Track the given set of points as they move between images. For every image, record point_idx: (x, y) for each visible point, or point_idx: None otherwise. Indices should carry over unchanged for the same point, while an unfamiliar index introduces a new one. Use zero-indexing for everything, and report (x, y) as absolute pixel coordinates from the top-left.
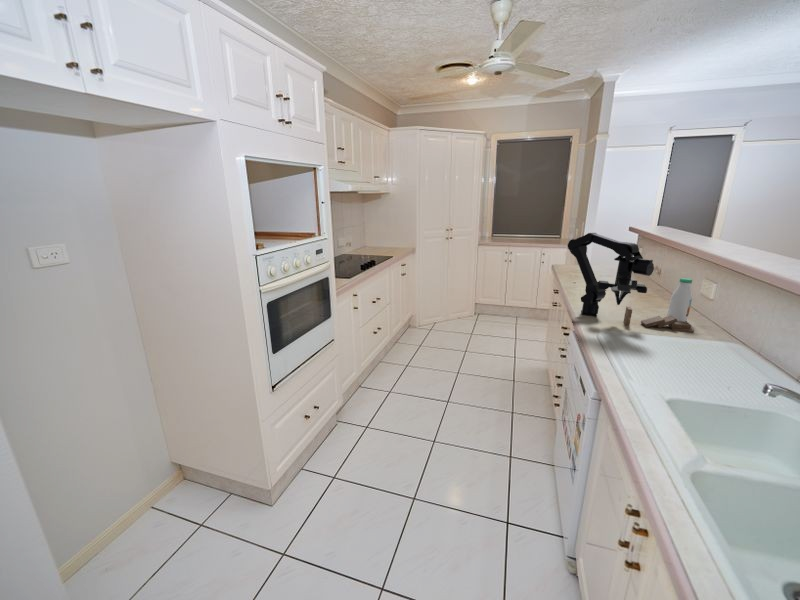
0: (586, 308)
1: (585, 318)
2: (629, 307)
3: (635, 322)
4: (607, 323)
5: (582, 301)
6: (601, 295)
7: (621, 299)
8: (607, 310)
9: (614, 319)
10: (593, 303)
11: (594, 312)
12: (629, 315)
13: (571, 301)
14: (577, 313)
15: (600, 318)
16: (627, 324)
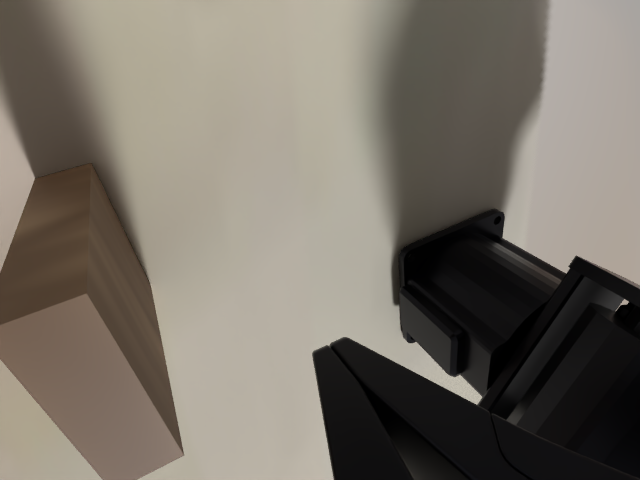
0: (520, 257)
1: (484, 109)
2: (113, 437)
3: None
4: (295, 69)
5: (621, 276)
6: (596, 427)
7: (362, 461)
8: (324, 458)
9: (247, 285)
10: (533, 309)
11: (433, 277)
12: (45, 240)
13: None
14: (518, 216)
15: (366, 215)
16: (62, 174)
